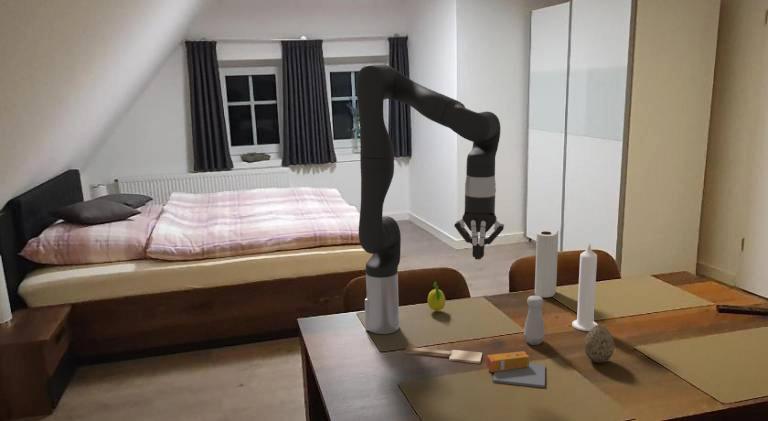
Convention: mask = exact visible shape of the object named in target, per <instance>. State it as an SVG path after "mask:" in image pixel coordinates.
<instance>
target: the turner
mask: <svg viewBox="0 0 768 421" xmlns="http://www.w3.org/2000/svg"><path fill="white" fill-rule="evenodd" d="M405 354H413V355H422V356H423V355H425V356H432V357H433V356H434V357H440V358H441V357H442V358H443V357H444V358H448V361H452V362H460V363H461V362H462V363H471V364H479V365H480V364H481V361H482V357H483V352H478V351H471V350H460V349H451V350H441V349H431V348H423V347H414V346H413V347H411V346H406V348H405Z"/></svg>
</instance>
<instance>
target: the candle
mask: <svg viewBox="0 0 768 421" xmlns="http://www.w3.org/2000/svg"><path fill="white" fill-rule="evenodd" d="M591 246H592V245H591V243H588V244H587V247H586V249H585V251H583V252H581V253H580V256H579V272H578V274H579V276H578V291H577V292H578V294H577V312H576V313H577V315H576V316H577V317H576V319H575V320H573V321H572V323H571V326H572V328H574V329H576V330H577V331H581V332H589V331H590V330H591V329H592V328H593V327H595V326H596V325H599V324H598V323H597V322H595V321H594V319H595V318H594V317H595V302H596V301H595V300H596V281H597V270H598V269H597V267H598V266H597V265H598V255H597V254H596V252H594V251H593V249H592V247H591Z"/></svg>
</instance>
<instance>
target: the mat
mask: <svg viewBox="0 0 768 421" xmlns="http://www.w3.org/2000/svg"><path fill="white" fill-rule="evenodd" d="M492 377H493V378H492V382H493V383H499V384H506V385H507V384H509V385H516V386H517V385H518V386H527V387H536V388H545V387H546V365H545V364H538V363H530V362H529V367H526V368H518V369H510V370H502V371H495V372H493V376H492Z"/></svg>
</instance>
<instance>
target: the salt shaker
mask: <svg viewBox="0 0 768 421" xmlns="http://www.w3.org/2000/svg"><path fill="white" fill-rule="evenodd" d="M526 299H527V300H526V305H527V306H528V312H527V316H526V320H525V325H524V327H523V328H524V329H523V337H524V340H525V342H526V343H527V344H530V345H531V346H533V345H536V346H537V345H540V344H542V343H543V341H544V339H545V337H546V332H545V325H544V318H543V313H542V312H543V311H542V307H543V306H544V297H540V296H537V295H530V296H528V298H526Z"/></svg>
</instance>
